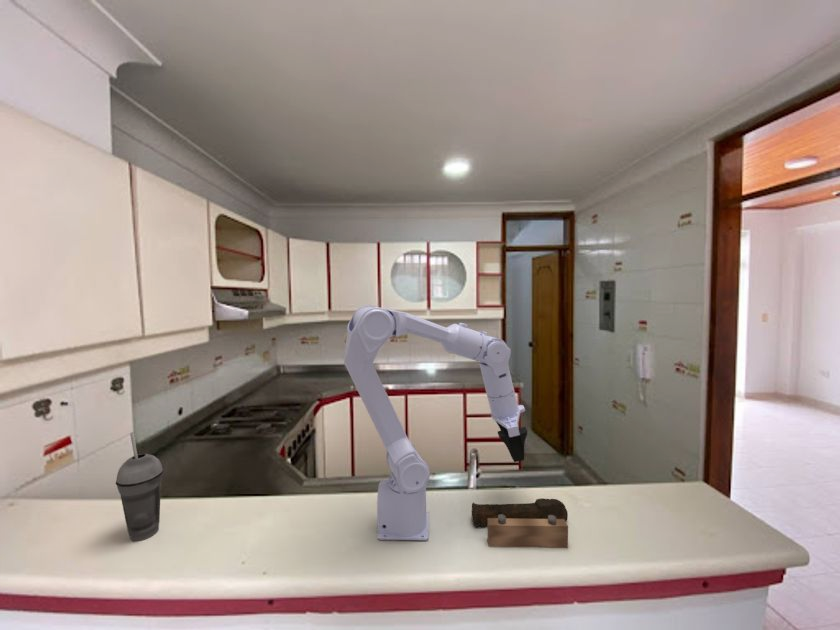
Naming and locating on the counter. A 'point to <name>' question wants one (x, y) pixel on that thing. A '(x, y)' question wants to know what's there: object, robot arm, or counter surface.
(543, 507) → the hand tool
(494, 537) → the stop rail
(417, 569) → the counter surface
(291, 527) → the counter surface
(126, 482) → the beverage cup
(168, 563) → the counter surface
